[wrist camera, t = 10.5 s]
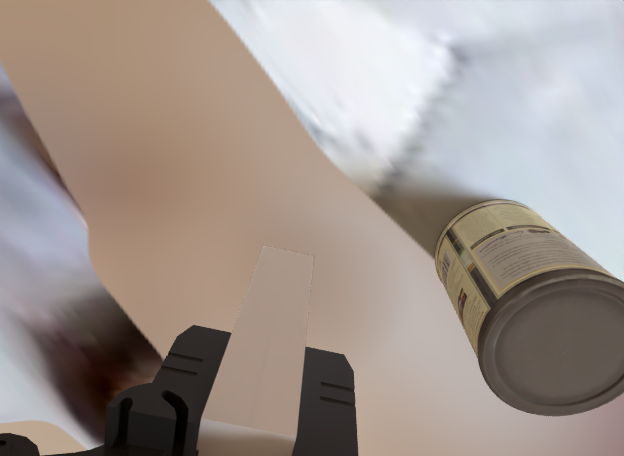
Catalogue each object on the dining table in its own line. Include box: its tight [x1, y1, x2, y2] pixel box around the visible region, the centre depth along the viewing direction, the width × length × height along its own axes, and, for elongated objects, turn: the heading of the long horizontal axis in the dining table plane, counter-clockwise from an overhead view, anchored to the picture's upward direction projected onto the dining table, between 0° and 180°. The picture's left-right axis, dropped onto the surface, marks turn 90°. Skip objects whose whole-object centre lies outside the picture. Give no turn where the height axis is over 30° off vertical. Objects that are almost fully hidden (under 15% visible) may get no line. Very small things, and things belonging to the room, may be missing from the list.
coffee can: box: [435, 200, 624, 416], centre depth 34 cm, size 10×10×14 cm
